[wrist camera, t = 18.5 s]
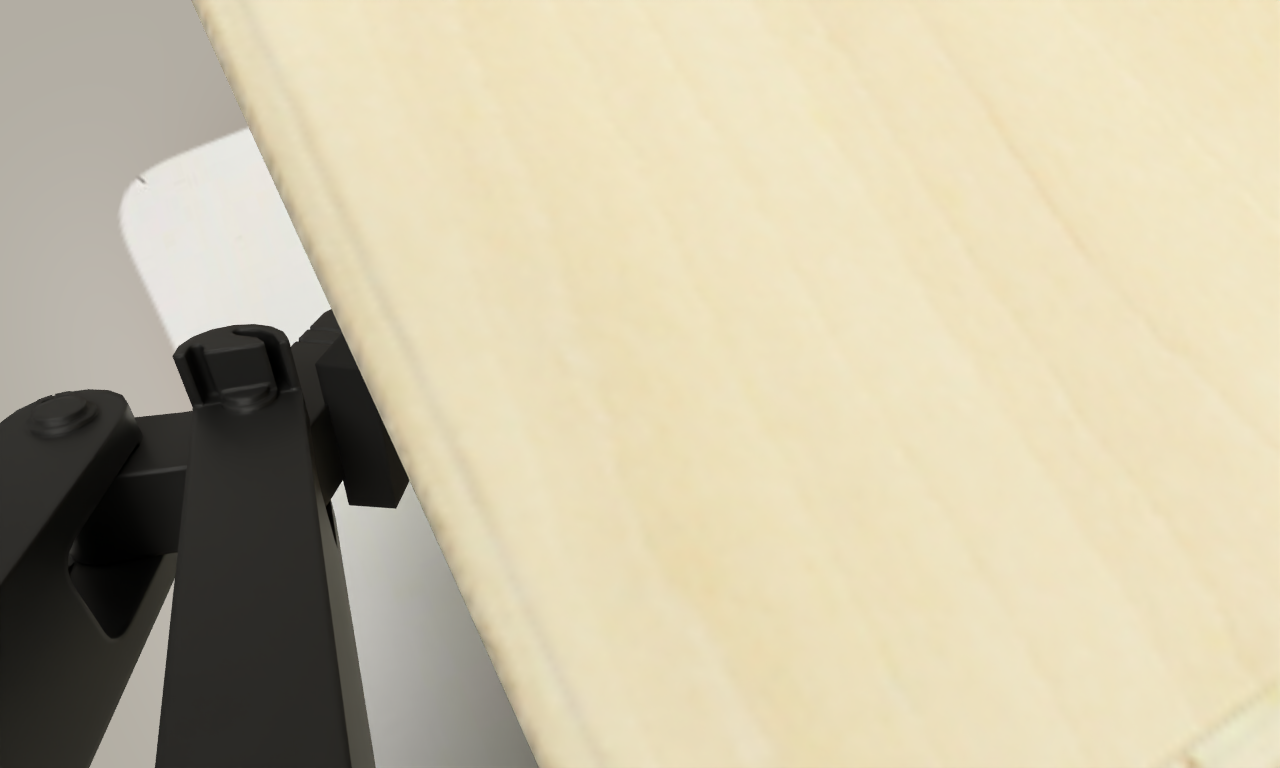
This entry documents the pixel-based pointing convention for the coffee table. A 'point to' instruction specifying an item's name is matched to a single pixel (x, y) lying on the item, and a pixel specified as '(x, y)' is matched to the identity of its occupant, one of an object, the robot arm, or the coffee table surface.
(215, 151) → the coffee table surface
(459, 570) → the cream tall block
